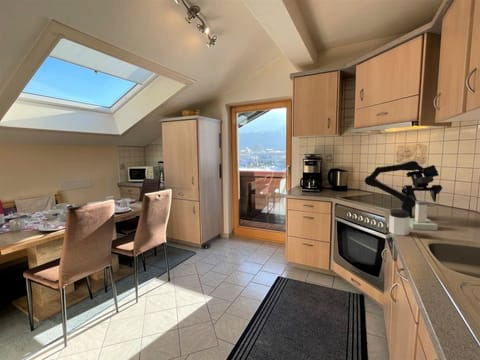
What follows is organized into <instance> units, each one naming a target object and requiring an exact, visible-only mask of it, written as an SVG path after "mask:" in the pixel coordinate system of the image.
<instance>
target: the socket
mask: <svg viewBox="0 0 480 360" xmlns="http://www.w3.org/2000/svg"><path fill="white" fill-rule="evenodd" d="M438 228H439V227H438V224H437V223H435V222H434V221H433V220H431V219H429V218H427V220H426V223H416V222H415V217H414V218H410V223H409V229H411V230H416V231H417V230H419V231H420V230H421V231H438Z"/></svg>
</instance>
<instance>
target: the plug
mask: <svg viewBox="0 0 480 360" xmlns="http://www.w3.org/2000/svg"><path fill="white" fill-rule="evenodd" d="M415 203H416V205H415V206H414V207H415V210H414V211H415V212H414V218H415V222H416V223H426V220H427V219H428V218H427V216H428V215H427V214H428V201H426V200H417V201H415Z"/></svg>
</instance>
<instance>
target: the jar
mask: <svg viewBox="0 0 480 360" xmlns="http://www.w3.org/2000/svg"><path fill="white" fill-rule="evenodd" d="M388 218H389V220H388V221H389V222H388V230H389V231H388V232H389V233H391V234H392V235H396V236H403V237H404V236H407V235H409V234H410V227H409V223H410V217H409V212H408V211H406V210H402V208H401V209H399V208H397V209H396V208H393V209H390V214H389V217H388Z"/></svg>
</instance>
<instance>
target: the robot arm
mask: <svg viewBox="0 0 480 360" xmlns="http://www.w3.org/2000/svg"><path fill="white" fill-rule="evenodd" d="M397 171H406V177H407V178H411V181H412V184H406V185H403V187H402V189H401V191H399V190H398V189H395V188H393V187H391V186H389V185H387V184H385V183H384V182H382V181H381V180H379V179H377V178H378V176H379V175H380V174H382V173H388V172H397ZM439 176H440V175H439V172H438V170H437V168H436V165H434V164H432V165H429V166H426V167H423V166H421V165H420V164H419V163H418V162H417V161H416V160H409V161H406V162H402V163H399V164H392V165H386V166H385V165H384V166H377V167H376V168H374V170H373V171H372V173H371V174H370V175H367V176H366V177H365V178H364V184H366V185H368V186H370V187H374V188H376V189H379V190H382V191H383V192H385V193H387V194H389V195H391V196H393V197H394V198H397V199H399V200H400V202H401V210H406V211H408V212H409V217H410V218H415V216H413V208H414V207H416V203H415V201H418V199H417V197H416V194H415V192H416V191H417V192H429V193H430V196H431V197H430V198H432V201H433V202H434V203H436V202H437V195H438V194H440V193H441V191H442V190H443V186H442V185H441V184H432V185H431V187H430V186H429V184H430V183H433V182H434V181H435V180H434V177H435V178H436V177H439Z"/></svg>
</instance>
